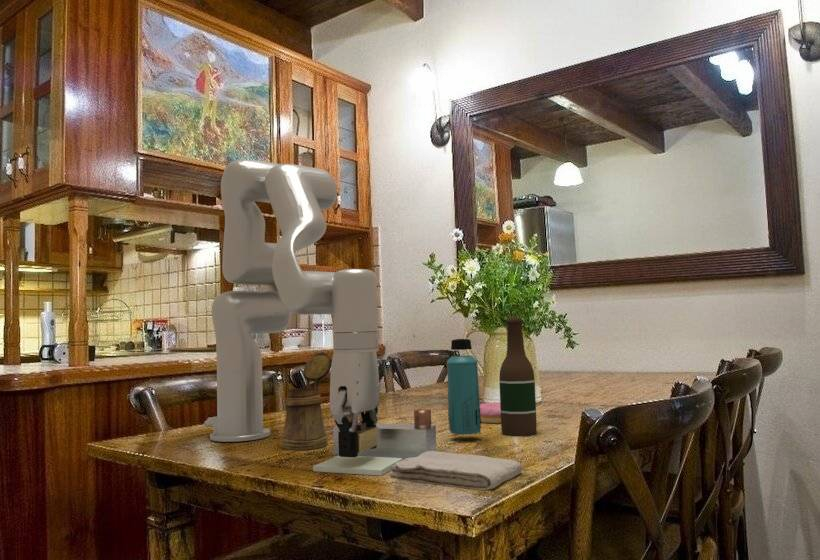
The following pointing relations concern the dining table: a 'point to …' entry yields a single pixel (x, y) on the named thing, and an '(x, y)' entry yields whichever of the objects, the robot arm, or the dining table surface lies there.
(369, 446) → the beige block
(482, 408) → the doughnut
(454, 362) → the beverage bottle
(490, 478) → the washcloth
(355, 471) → the mat
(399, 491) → the dining table surface
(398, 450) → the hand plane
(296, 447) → the wooden utensil holder
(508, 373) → the beer bottle
